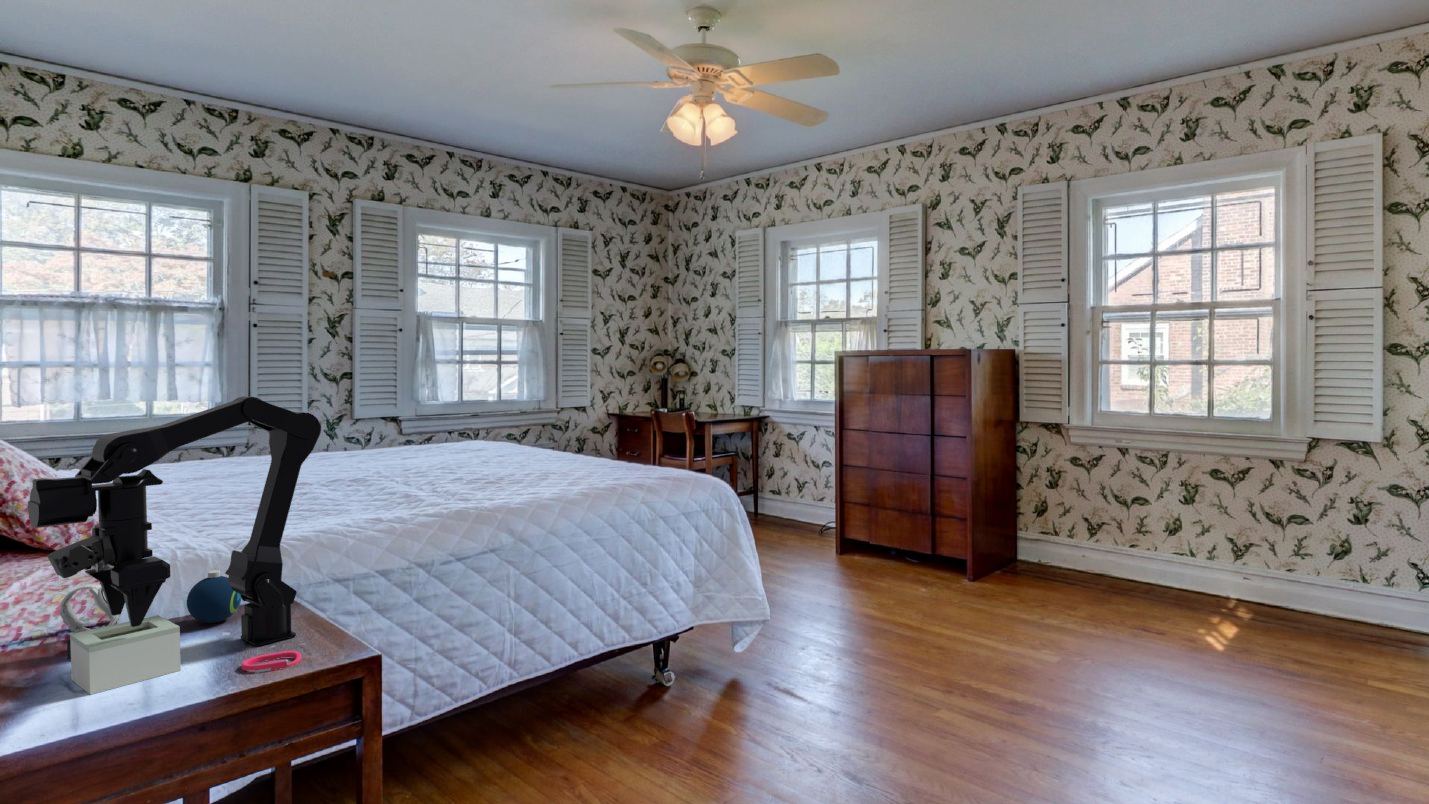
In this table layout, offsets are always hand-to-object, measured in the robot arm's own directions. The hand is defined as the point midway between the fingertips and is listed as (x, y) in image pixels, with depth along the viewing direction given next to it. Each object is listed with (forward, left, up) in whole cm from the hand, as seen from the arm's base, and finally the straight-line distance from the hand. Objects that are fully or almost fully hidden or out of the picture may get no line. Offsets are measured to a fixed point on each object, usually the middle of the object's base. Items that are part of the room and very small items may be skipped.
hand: (125, 620), depth 114 cm
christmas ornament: (-18, -17, -8) cm, 26 cm away
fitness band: (-15, +13, -9) cm, 22 cm away
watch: (0, -16, -8) cm, 18 cm away
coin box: (0, 0, -8) cm, 8 cm away
